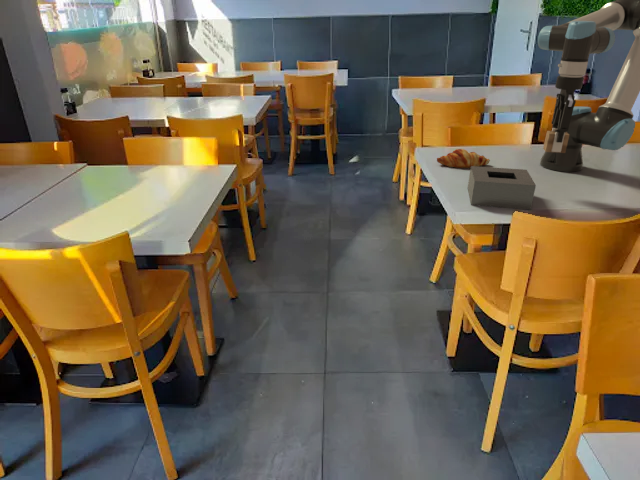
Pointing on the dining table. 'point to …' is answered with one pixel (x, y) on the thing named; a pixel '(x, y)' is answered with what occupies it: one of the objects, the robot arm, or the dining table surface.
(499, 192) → the box
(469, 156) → the croissant
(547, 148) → the brown block
